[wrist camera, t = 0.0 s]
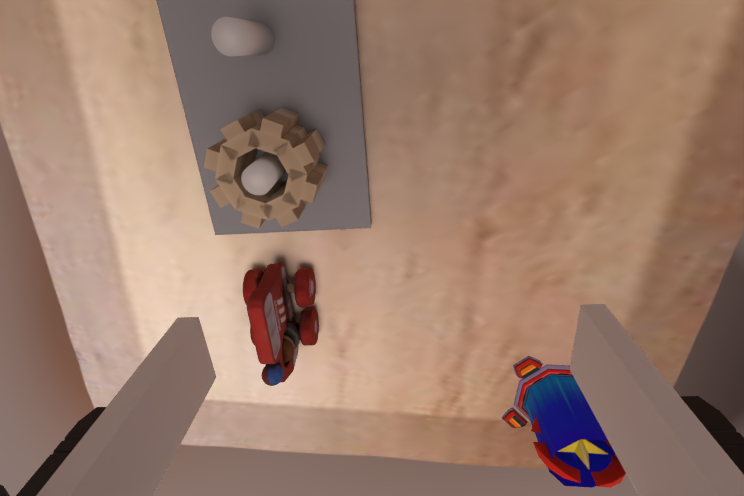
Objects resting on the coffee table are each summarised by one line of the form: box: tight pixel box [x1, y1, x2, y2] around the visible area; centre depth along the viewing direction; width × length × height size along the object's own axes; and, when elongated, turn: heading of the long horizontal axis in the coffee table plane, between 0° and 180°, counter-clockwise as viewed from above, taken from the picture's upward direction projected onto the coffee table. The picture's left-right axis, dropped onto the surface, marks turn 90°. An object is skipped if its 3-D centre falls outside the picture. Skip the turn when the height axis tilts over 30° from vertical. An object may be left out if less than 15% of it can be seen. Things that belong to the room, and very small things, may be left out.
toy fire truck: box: [243, 263, 319, 386], centre depth 43 cm, size 7×12×10 cm, turn 2°
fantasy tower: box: [502, 356, 626, 487], centre depth 47 cm, size 12×12×12 cm
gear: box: [204, 108, 328, 228], centre depth 36 cm, size 9×9×6 cm
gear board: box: [157, 0, 371, 235], centre depth 34 cm, size 26×16×9 cm, turn 4°
